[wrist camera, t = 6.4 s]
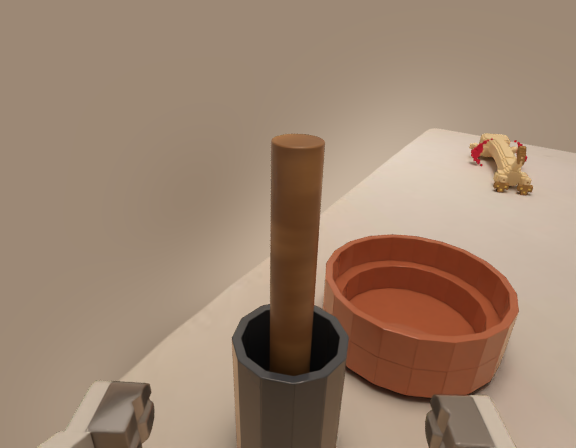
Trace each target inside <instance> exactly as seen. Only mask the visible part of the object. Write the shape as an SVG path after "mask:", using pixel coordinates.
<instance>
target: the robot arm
mask: <svg viewBox="0 0 576 448" xmlns="http://www.w3.org/2000/svg"><path fill="white" fill-rule="evenodd" d="M150 394H151V388H150V384H148V383H135V382H120V381H100V380H96V381H95V382H94V383H93V384H92V385H91V386H90V388H89V389H88V391H87V393H86V394H85V396H84V398H83V400H82V401H81V403H80V405H79V407H78V409H77V410H76V412H75V414H74V415H73V417H72V419H71V421H70V422H69V424H68V426H67V427H66V429H65V431H59V432H57V433H56V434H55V435H53V436H52V437H50V438H49V439H48V440H46V441H45V442H43V444H41V445H39V446H38V447H37V448H142V443H144V442H145V441H146V440H147V439H148V438H149V436H150V433H151V430H152V426H153V421H154V404H153V402H152V401H151V400H150V399H149V397H150ZM430 404H431V407H432V410H431V411H430V412H428V413H427V416H426V421H425V433H426V438H427V442H428V446H429V448H516V446H515V444H514V442H513V440H512V438H511V436H510V434H509V432H508V430H507V428H506V426H505V425H504V423H503V421H502V419H501V417H500V415H499V413H498V411H497V409H496V407H495V405H494V404H493V402H492V400H491V398H490V397H489V396H484V395H463V394H434V395H433V396H432V397H431V401H430Z"/></svg>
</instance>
